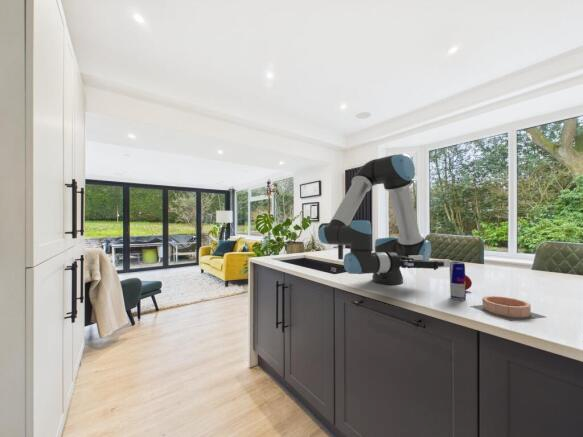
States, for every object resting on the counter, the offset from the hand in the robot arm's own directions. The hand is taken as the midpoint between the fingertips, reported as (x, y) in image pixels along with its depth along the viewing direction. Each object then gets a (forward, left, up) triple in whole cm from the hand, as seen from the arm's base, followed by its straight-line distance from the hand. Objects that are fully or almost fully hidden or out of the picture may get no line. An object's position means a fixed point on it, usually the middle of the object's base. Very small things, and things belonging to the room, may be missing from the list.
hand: (435, 260), depth 97 cm
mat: (+16, +13, -16) cm, 26 cm away
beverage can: (0, +10, -16) cm, 19 cm away
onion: (-10, +23, -16) cm, 30 cm away
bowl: (+16, +13, -15) cm, 26 cm away
